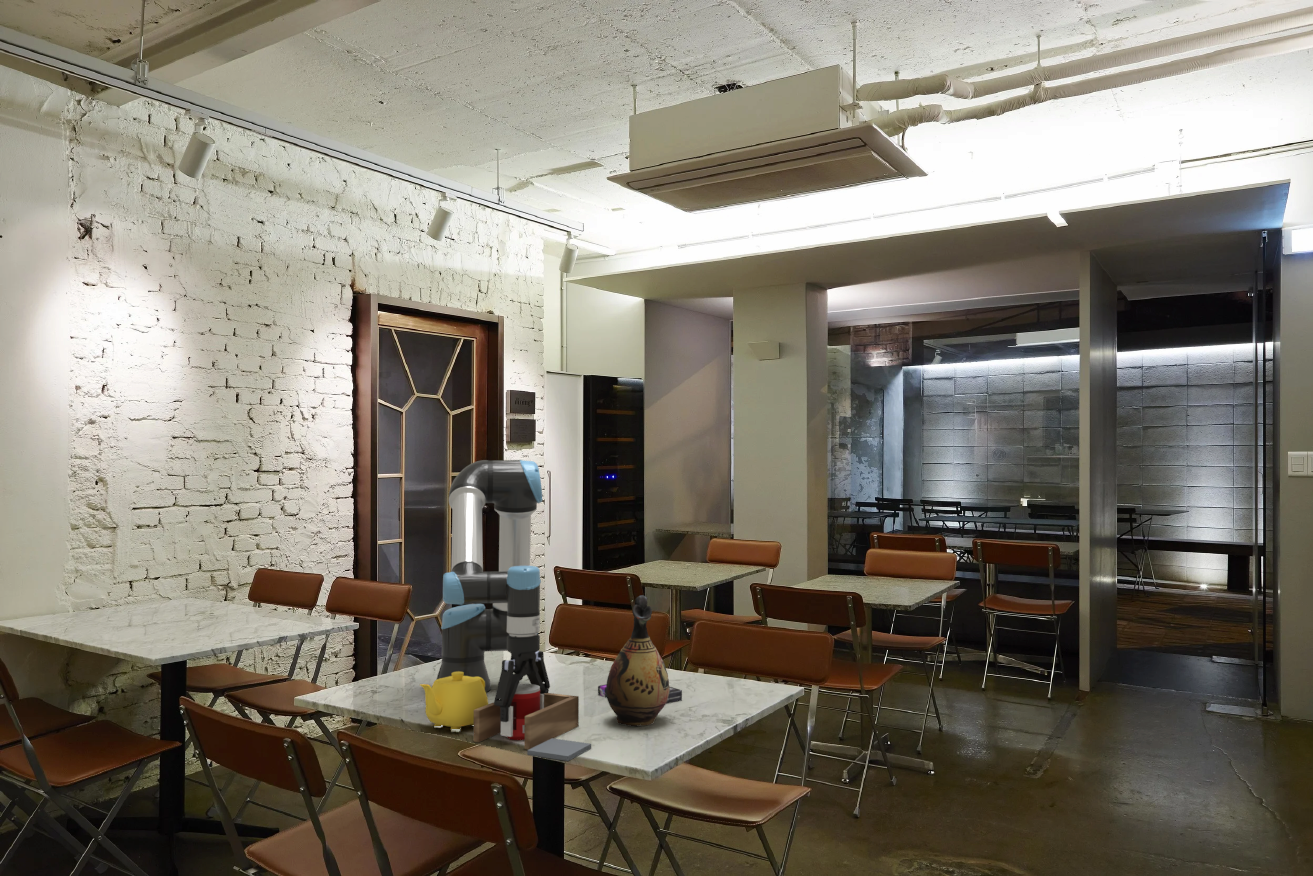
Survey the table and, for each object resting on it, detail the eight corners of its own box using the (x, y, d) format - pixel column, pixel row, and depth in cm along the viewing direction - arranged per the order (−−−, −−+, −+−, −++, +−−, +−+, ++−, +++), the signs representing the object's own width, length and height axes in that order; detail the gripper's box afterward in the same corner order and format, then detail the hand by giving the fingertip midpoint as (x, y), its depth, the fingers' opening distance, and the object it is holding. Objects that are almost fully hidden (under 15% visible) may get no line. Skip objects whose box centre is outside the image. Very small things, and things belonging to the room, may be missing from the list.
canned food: (545, 733, 212) (545, 684, 213) (529, 742, 205) (530, 692, 205) (516, 730, 215) (516, 682, 215) (499, 739, 207) (499, 689, 208)
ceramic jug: (672, 729, 215) (672, 600, 216) (606, 730, 214) (607, 601, 215) (666, 711, 232) (665, 592, 233) (605, 712, 231) (605, 592, 232)
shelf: (473, 741, 205) (473, 709, 206) (525, 719, 224) (525, 690, 225) (530, 749, 199) (530, 717, 199) (578, 726, 218) (578, 696, 218)
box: (597, 698, 250) (641, 711, 234) (597, 685, 250) (641, 697, 235) (638, 690, 258) (683, 701, 243) (637, 677, 259) (682, 688, 243)
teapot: (503, 723, 221) (504, 669, 221) (438, 742, 205) (439, 684, 205) (465, 714, 229) (465, 663, 229) (399, 732, 213) (400, 676, 213)
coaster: (527, 755, 195) (527, 750, 195) (552, 742, 204) (552, 738, 204) (568, 761, 191) (568, 756, 191) (591, 748, 200) (591, 743, 200)
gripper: (506, 643, 198) (506, 744, 197) (564, 627, 220) (564, 717, 219) (478, 641, 201) (477, 740, 200) (538, 625, 223) (537, 714, 222)
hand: (522, 728), depth 210 cm, fingers open, 12 cm apart
